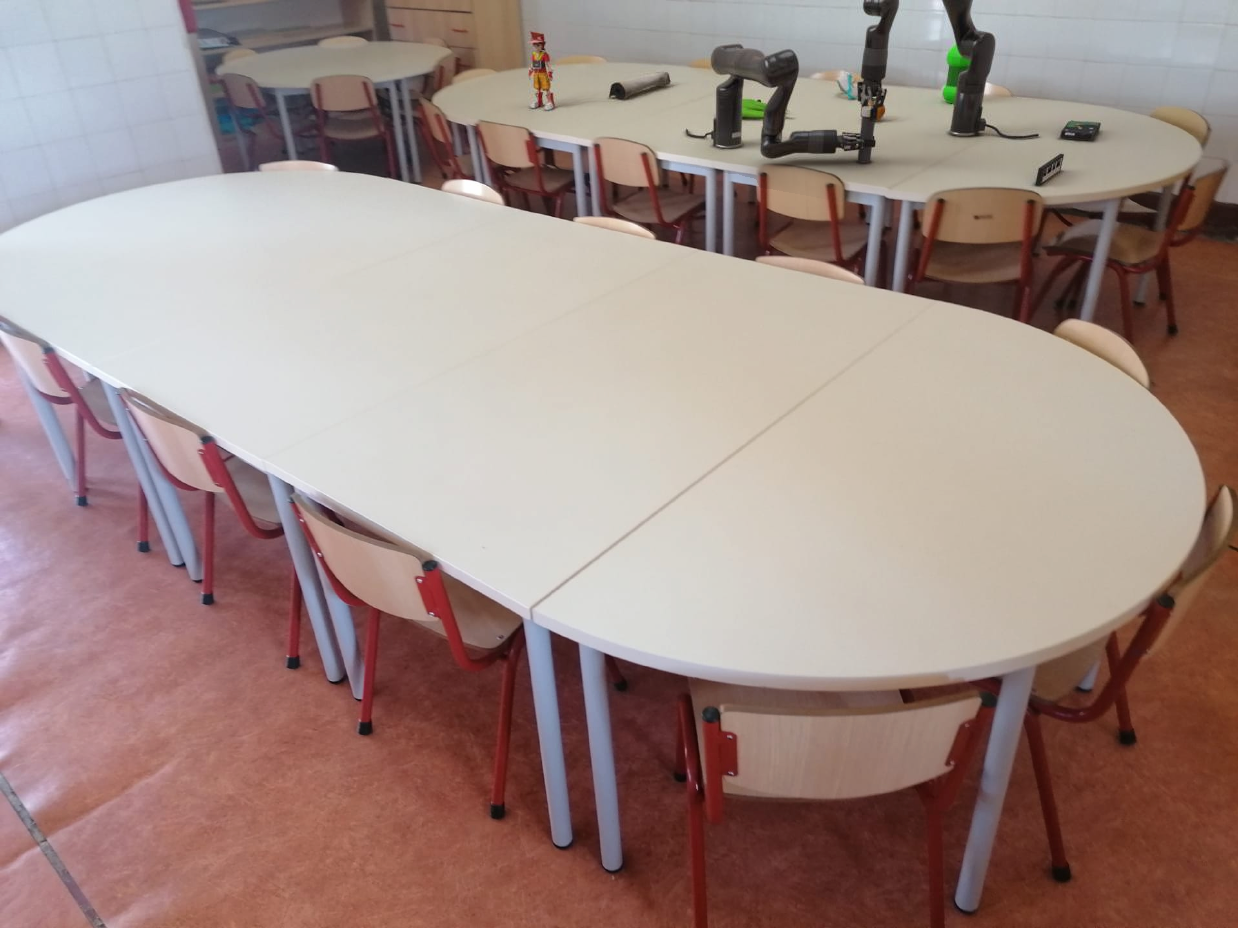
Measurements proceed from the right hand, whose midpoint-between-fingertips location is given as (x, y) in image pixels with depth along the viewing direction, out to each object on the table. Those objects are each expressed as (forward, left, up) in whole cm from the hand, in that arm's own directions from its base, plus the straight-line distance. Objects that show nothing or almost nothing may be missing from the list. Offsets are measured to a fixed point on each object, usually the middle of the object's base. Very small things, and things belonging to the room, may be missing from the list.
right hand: (868, 118), depth 290 cm
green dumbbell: (-36, -80, -14) cm, 89 cm away
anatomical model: (+4, -92, -14) cm, 93 cm away
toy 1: (+132, -75, -14) cm, 152 cm away
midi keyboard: (-55, +16, -14) cm, 58 cm away
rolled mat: (+94, -101, -14) cm, 139 cm away
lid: (0, 0, +3) cm, 3 cm away
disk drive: (-73, -33, -14) cm, 81 cm away
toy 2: (+40, -61, -14) cm, 74 cm away
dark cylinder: (0, 0, -14) cm, 14 cm away
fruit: (-4, -53, -14) cm, 55 cm away
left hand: (-3, 0, -7) cm, 8 cm away
